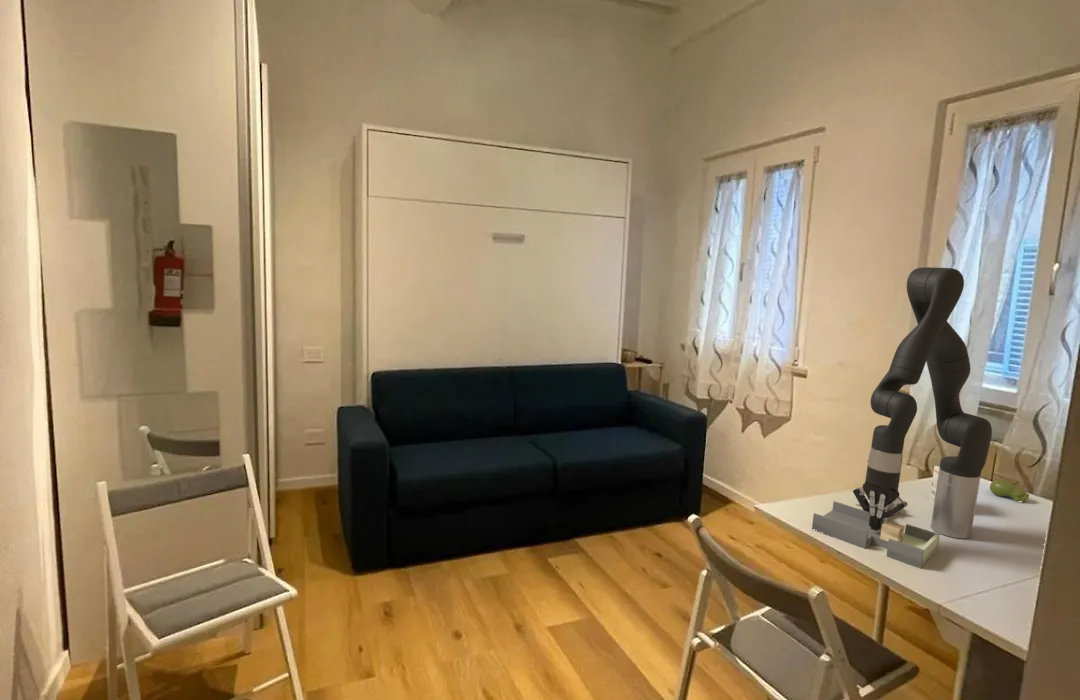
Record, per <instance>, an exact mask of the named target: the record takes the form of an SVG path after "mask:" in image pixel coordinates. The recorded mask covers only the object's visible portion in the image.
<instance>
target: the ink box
mask: <svg viewBox="0 0 1080 700" xmlns="http://www.w3.org/2000/svg"><path fill="white" fill-rule="evenodd" d="M933 466H934V465H933ZM939 468H940V465H939V466H938V465H935V466H934V467H933V473H932V481H931V488H930V489H931V490H930V495H929V502H930V504H932V505H933V506H934V501H935V494H936V488H937V481H938V474H939Z"/></svg>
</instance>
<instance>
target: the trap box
mask: <svg viewBox="0 0 1080 700" xmlns="http://www.w3.org/2000/svg"><path fill="white" fill-rule="evenodd" d="M832 502H833V503H832V509H831V510H830V511H829V512H827V513H825V514H824V515H822V514H819V513H816V512H815V513H813V517H812V525H811V530H812V529H815V530H817V531H820V532H823V533H825V534H824V535H826V534H827V536H828V535H830V536H829V537H831V536H832V538H834V537H835V539H837V540H840V541H842V540H843V542H844V543H845V542H846V543H848V544H851V545H854V546H856V547H860V548H863V549H866V548H867V547H869V546H870V545H871V544H872V545H874V546H877V547H881V548H883V549H886V555H885V556H886V557H888V558H891V559H893V560H896V561H899V562H901V563H904V564H907V565H909V566H913V567H915V568H919V569H922V568H923V567H924V565H925V564H926V563H927V562H928V561H929V560H930V559H931V558H932V557H933V556H934V555H935V554H936V553H937V552H938V549H939V542H940V535H941V533H938V532H937V533H936V532H935V531H934V532H933V531H930V530H927V529H924V528H921V527H919V526H914V525H911V524H908V523H906V524H905V528H904V535H903V541H902V542H899V541H896V540H893V539H889V541H888V542H887V541H884V540H881V539H880V535H881V529H880V530H878V531H875V530H872V529H871V527H870V526H869V520H870V514H869V513H868V512H867V511H864V510H863V509H862V508H861V509H860V508H858V507H854V506H851V505H848V504H844V503H841V502H838V501H835V500H834V501H832ZM886 521H887V518H884V520H883V523H885V522H886ZM817 531H816V532H817ZM820 532H819V533H820ZM823 533H822V534H823Z"/></svg>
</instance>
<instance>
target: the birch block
mask: <svg viewBox="0 0 1080 700" xmlns="http://www.w3.org/2000/svg"><path fill="white" fill-rule="evenodd" d="M905 528H906V525H902V524H899V523H897V522H894V521H891V520H886V522H885V523H883V524H882V528H881V535H880V539H881V540H884V541H887V542H888V541H889V539H893V540H896V541H899V542H902V541H903V535H904V534H905Z"/></svg>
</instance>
